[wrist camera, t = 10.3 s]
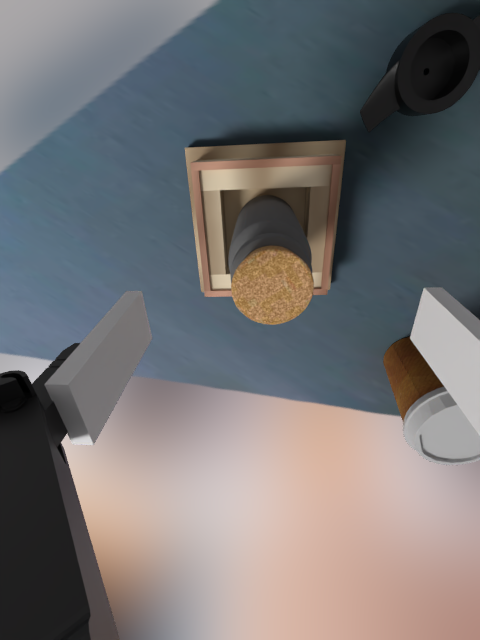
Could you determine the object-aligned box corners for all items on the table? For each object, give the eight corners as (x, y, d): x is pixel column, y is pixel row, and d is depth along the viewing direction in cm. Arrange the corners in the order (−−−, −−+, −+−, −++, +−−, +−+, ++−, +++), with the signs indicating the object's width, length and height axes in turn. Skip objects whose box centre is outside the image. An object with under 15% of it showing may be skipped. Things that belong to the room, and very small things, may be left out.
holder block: (342, 140, 28) (356, 140, 24) (327, 285, 35) (336, 303, 31) (187, 147, 29) (176, 149, 25) (202, 287, 36) (196, 305, 32)
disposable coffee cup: (386, 318, 37) (437, 390, 26) (465, 330, 37) (546, 406, 27) (359, 380, 41) (392, 461, 31) (429, 390, 42) (485, 474, 31)
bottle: (228, 205, 30) (206, 256, 17) (288, 185, 29) (314, 224, 16) (246, 261, 33) (238, 342, 20) (301, 245, 32) (332, 320, 19)
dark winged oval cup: (471, 124, 27) (493, 123, 25) (352, 133, 28) (362, 132, 25) (503, 2, 23) (533, -15, 21) (364, 15, 24) (377, 1, 21)
